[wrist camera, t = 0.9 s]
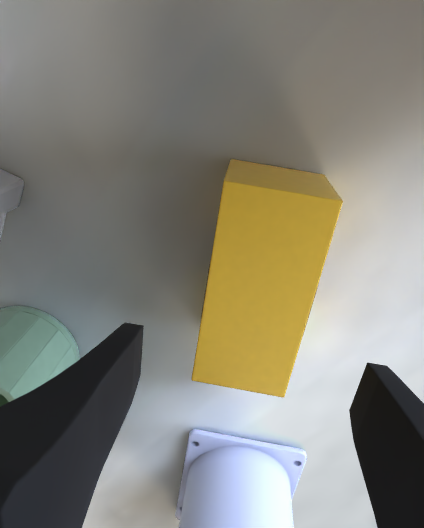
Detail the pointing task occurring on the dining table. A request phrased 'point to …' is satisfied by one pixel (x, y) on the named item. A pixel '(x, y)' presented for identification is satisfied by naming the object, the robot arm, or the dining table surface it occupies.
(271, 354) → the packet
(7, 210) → the lighter
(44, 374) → the mug
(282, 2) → the dining table surface
